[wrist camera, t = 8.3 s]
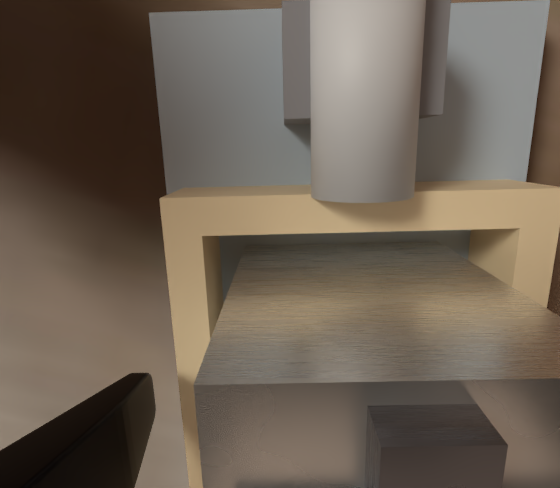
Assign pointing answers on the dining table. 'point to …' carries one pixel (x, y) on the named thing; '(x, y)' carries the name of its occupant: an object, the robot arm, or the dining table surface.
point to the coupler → (377, 373)
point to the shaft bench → (245, 105)
